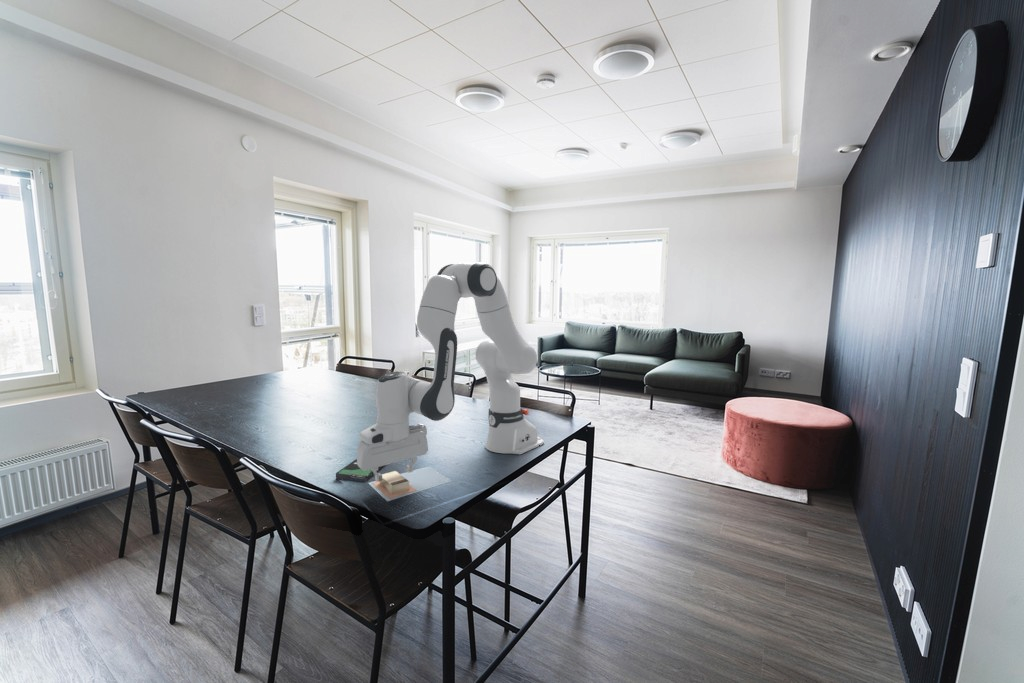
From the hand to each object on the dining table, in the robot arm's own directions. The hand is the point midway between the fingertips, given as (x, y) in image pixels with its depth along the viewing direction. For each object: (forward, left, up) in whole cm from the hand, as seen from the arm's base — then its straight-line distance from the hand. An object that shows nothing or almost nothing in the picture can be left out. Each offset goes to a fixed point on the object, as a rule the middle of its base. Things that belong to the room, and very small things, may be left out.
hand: (394, 476), depth 123 cm
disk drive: (+3, -17, -4) cm, 18 cm away
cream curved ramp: (0, 0, -3) cm, 3 cm away
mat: (-5, 0, -4) cm, 6 cm away
